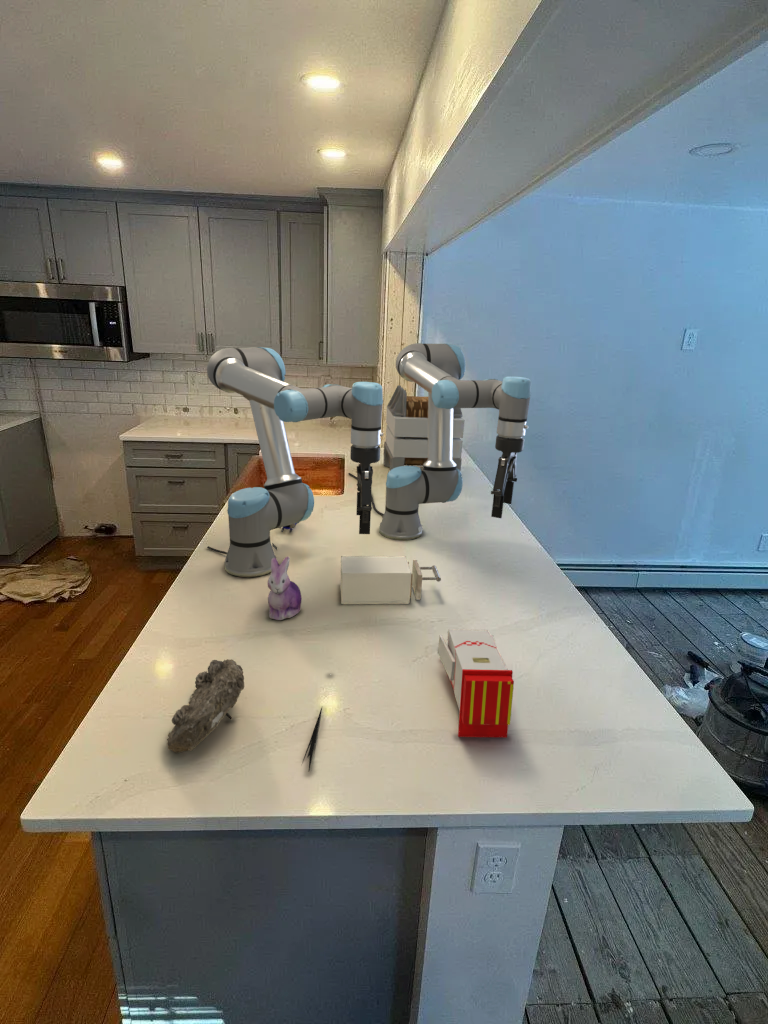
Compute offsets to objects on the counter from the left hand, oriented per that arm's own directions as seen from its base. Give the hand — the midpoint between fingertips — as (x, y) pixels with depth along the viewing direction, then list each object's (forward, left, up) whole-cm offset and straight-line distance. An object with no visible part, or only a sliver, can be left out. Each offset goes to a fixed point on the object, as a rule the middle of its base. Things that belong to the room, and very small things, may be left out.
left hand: (362, 524), depth 150 cm
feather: (+13, -50, -21) cm, 56 cm away
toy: (+38, -29, -21) cm, 52 cm away
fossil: (-5, -58, -21) cm, 61 cm away
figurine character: (-43, +34, -21) cm, 58 cm away
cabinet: (+4, +1, -21) cm, 21 cm away
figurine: (-13, -18, -21) cm, 30 cm away
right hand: (+32, +24, +2) cm, 40 cm away
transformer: (-24, +125, -21) cm, 129 cm away
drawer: (+9, +4, -20) cm, 22 cm away
